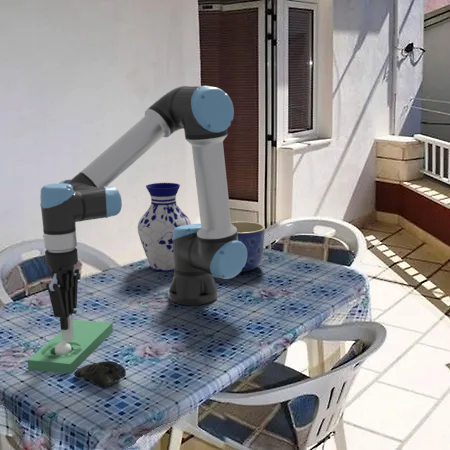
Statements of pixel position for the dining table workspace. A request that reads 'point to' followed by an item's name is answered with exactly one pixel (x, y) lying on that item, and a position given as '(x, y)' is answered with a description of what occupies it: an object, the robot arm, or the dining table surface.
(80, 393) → the dining table surface
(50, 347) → the green rectangular board
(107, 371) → the stone
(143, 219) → the vase
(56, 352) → the ball
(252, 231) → the planter
